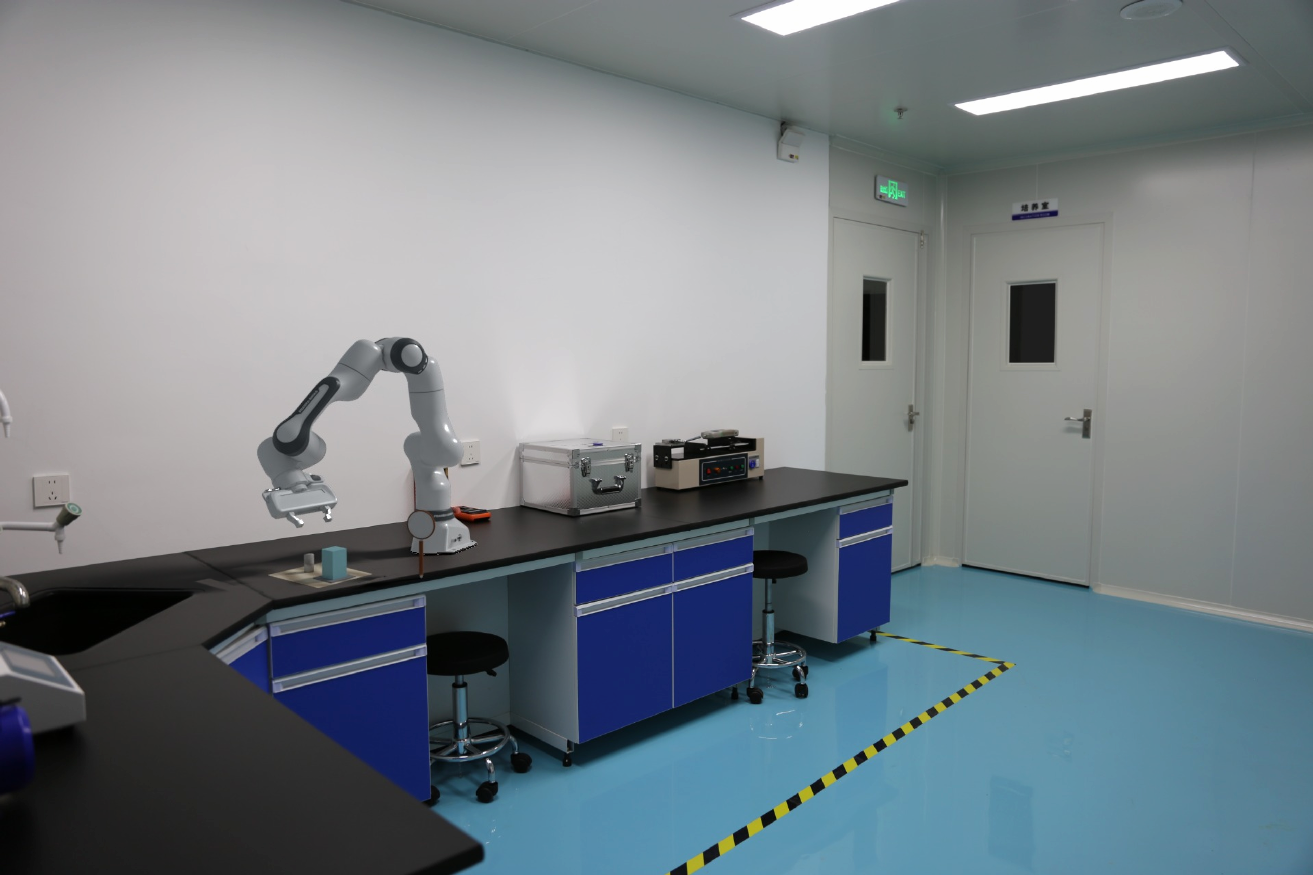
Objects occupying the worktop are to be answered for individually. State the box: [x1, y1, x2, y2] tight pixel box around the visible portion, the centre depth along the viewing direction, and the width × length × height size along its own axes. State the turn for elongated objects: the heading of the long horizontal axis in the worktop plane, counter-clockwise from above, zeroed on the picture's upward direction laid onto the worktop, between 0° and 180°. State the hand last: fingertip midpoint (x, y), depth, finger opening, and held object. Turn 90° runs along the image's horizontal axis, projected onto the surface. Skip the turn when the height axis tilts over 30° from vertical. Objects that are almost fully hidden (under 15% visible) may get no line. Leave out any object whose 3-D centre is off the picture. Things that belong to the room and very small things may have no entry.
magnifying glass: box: [406, 510, 435, 579], centre depth 242 cm, size 9×2×20 cm, turn 79°
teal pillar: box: [321, 545, 348, 580], centre depth 235 cm, size 5×5×8 cm
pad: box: [313, 574, 356, 583], centre depth 235 cm, size 8×8×1 cm
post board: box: [268, 553, 372, 589], centre depth 238 cm, size 18×22×6 cm
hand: (315, 523), depth 238 cm, fingers open, 8 cm apart
